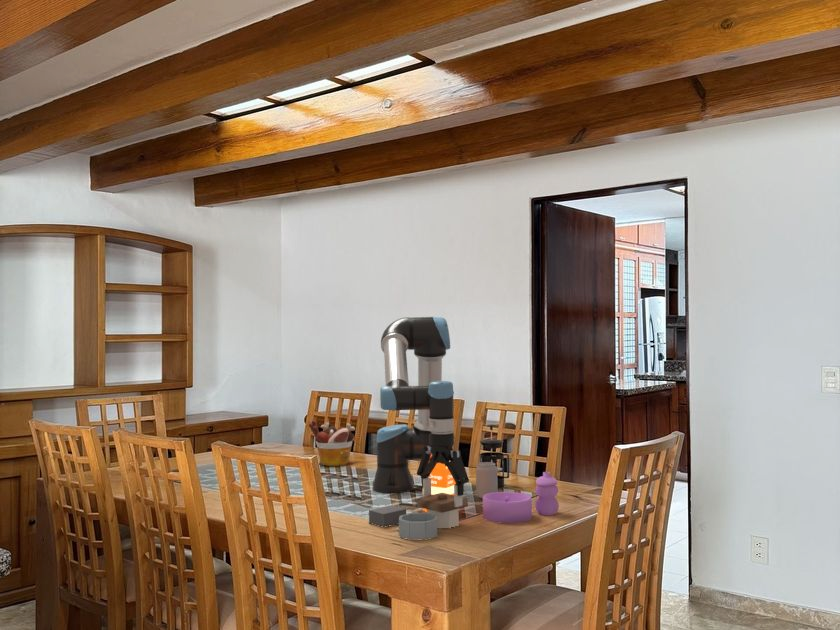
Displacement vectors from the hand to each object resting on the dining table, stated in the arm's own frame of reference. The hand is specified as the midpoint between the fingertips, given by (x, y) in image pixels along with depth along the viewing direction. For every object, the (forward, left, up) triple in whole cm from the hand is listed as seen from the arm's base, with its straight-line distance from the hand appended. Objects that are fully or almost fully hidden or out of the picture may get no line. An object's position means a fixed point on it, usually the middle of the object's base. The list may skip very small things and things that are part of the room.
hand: (442, 502), depth 235 cm
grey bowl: (+3, -13, -7) cm, 15 cm away
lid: (0, 0, -1) cm, 1 cm away
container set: (+10, +25, -7) cm, 28 cm away
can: (-15, +37, -7) cm, 40 cm away
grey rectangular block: (-14, -10, -7) cm, 18 cm away
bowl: (0, 0, -7) cm, 7 cm away
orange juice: (-13, +12, -7) cm, 19 cm away
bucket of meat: (-108, +40, -7) cm, 115 cm away
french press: (-26, +53, -7) cm, 59 cm away
